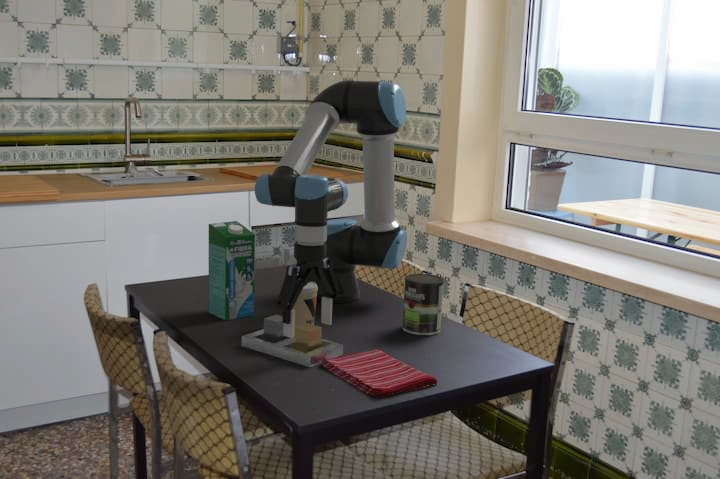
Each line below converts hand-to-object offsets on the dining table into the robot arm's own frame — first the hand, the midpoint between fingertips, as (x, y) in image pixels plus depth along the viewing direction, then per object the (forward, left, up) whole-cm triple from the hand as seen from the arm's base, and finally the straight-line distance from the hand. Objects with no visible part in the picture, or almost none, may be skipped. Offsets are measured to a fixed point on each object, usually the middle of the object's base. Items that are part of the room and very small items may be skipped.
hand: (308, 330), depth 199 cm
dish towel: (-1, +20, -7) cm, 21 cm away
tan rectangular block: (0, 0, -6) cm, 6 cm away
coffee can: (-36, +9, -7) cm, 38 cm away
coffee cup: (-14, -15, -6) cm, 21 cm away
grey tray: (0, -5, -6) cm, 8 cm away
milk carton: (-11, -37, -6) cm, 39 cm away
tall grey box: (0, -10, -6) cm, 12 cm away
